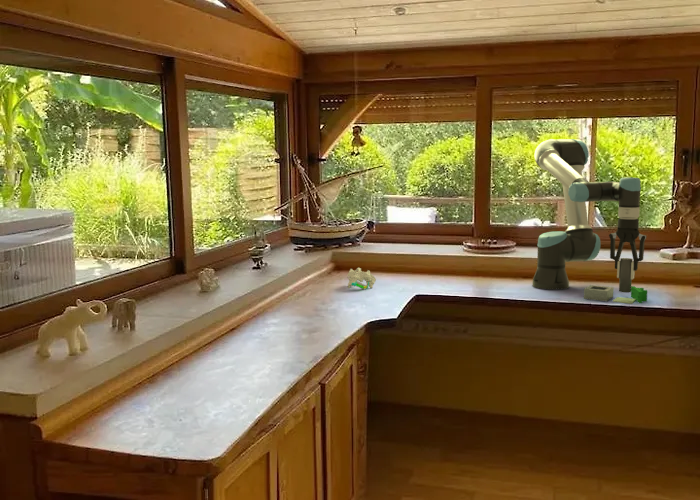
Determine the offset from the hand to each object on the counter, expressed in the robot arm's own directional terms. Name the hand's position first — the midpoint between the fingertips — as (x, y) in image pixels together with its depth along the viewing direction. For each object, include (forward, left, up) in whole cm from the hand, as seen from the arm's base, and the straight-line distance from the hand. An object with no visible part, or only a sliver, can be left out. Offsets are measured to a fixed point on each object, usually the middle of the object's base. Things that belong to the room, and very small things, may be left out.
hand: (625, 277), depth 274 cm
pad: (0, 0, -9) cm, 9 cm away
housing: (-10, +1, -9) cm, 14 cm away
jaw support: (-102, -34, -10) cm, 108 cm away
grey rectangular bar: (0, 0, -5) cm, 5 cm away
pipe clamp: (+4, +6, -10) cm, 12 cm away
